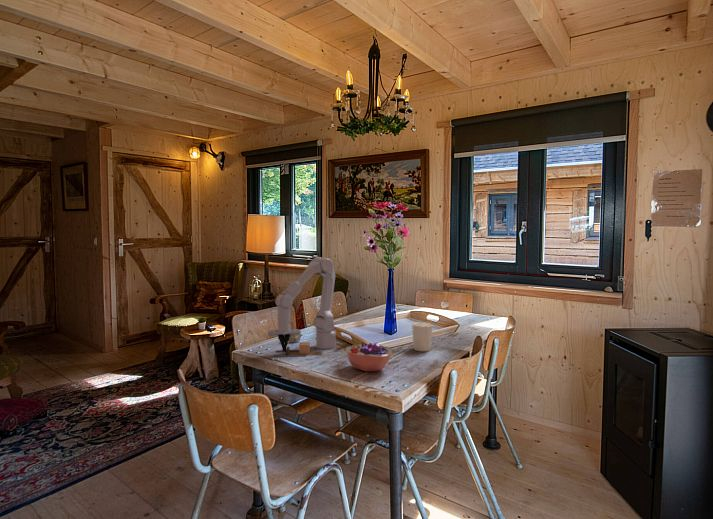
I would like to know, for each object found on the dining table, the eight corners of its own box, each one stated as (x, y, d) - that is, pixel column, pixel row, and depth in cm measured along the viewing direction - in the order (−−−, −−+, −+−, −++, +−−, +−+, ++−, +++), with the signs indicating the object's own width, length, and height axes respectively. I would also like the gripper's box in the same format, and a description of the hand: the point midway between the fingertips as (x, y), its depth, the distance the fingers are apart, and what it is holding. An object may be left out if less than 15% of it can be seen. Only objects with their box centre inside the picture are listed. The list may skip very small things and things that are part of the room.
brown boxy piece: (322, 353, 199) (322, 345, 199) (322, 357, 193) (322, 349, 193) (287, 354, 198) (287, 346, 197) (286, 358, 192) (286, 350, 191)
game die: (296, 351, 215) (298, 339, 209) (281, 345, 216) (283, 332, 210) (304, 339, 222) (306, 327, 215) (289, 333, 223) (291, 320, 217)
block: (309, 352, 198) (309, 342, 197) (309, 354, 193) (309, 344, 193) (299, 352, 197) (299, 342, 197) (299, 355, 193) (299, 345, 192)
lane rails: (306, 353, 199) (306, 349, 199) (306, 358, 191) (306, 354, 191) (276, 354, 198) (276, 350, 198) (274, 359, 190) (274, 355, 190)
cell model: (359, 360, 190) (359, 334, 189) (399, 368, 178) (400, 341, 178) (336, 370, 176) (336, 343, 175) (378, 380, 164) (378, 351, 164)
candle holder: (407, 349, 207) (407, 324, 206) (419, 345, 214) (419, 321, 213) (424, 353, 200) (425, 327, 200) (436, 348, 208) (436, 324, 207)
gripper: (266, 323, 189) (267, 353, 190) (300, 322, 190) (300, 353, 191) (268, 319, 196) (269, 349, 197) (300, 319, 197) (301, 348, 198)
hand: (284, 350), depth 194 cm, fingers closed
